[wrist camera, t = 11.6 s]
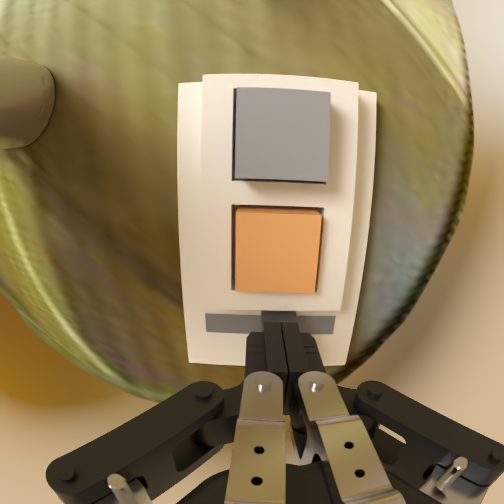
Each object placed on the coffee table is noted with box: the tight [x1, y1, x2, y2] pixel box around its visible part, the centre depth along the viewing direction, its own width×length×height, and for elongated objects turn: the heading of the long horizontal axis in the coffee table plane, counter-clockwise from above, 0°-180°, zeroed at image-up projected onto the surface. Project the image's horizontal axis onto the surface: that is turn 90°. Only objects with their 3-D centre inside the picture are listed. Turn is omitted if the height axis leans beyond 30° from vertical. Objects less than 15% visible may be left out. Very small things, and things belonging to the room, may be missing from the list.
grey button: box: [235, 87, 331, 182], centre depth 20 cm, size 6×6×3 cm
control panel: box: [177, 74, 376, 366], centre depth 25 cm, size 16×26×4 cm, turn 179°
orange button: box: [235, 205, 322, 293], centre depth 24 cm, size 6×6×3 cm
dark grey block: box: [260, 310, 300, 332], centre depth 26 cm, size 3×4×5 cm
